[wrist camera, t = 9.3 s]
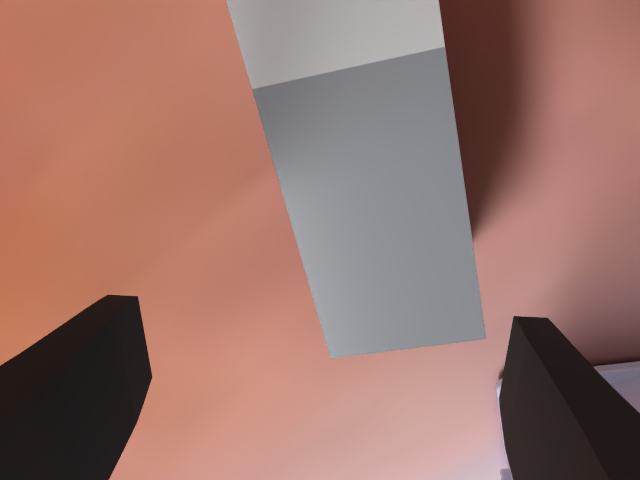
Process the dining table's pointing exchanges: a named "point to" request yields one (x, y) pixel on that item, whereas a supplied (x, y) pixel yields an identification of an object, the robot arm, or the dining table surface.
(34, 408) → the robot arm
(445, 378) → the dining table surface
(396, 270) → the box
